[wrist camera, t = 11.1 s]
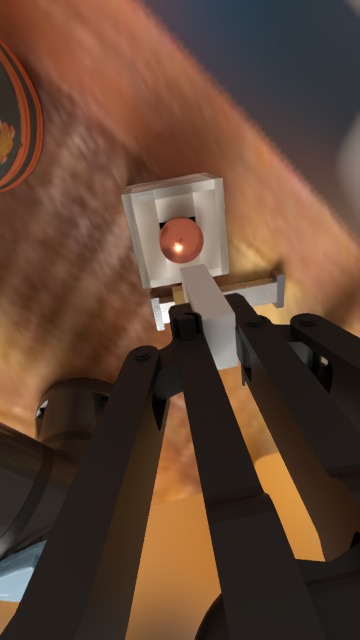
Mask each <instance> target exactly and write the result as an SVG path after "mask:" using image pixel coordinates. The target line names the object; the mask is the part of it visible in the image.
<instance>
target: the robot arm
mask: <svg viewBox="0 0 360 640" xmlns="http://www.w3.org/2000/svg"><path fill="white" fill-rule="evenodd" d="M180 274H181V280H182V286H183V292H184V299H185V303H184V304H179V305H173V306H171V307H170V309H169V310H168V314H169V319H170V326H171V331H172V336H173V339H172V341H171V343H170V344H169V345H167V346H166V347H164V348H162V349H160V350H158V349H157V348H156V347H154V346H148V345H145V346H140V347H137V348H135V349H133V350H132V351H131V352H129V354H128V355H127V357H126V359H125V362H124V364H123V366H122V368H121V371H120V373H119V375H118V378H117V380H116V382H115V385H114V386H113V385H111V384H109V383H106V382H103V381H100V380H95V379H83V378H82V379H72V380H67V381H64V382H61V383H59V384H57V385H55V386H53V387H52V388H50V389H49V390H48V391H47V392H46V393H45V394H44V396H43V397H42V399H41V401H40V403H39V406H38V408H37V411H36V415H35V439H33V438H31V437H29V436H27V435H25V434H23V433H21V432H19V431H17V430H15V429H13V428H11V427H9V426H7V425H5V424H3V423H1V422H0V600H3V601H14V602H20V603H19V606H18V608H17V610H16V613H15V615H14V616H13V617H12V619H11V620H10V622H9V623H8V625H7V626H6V628H5V629H4V631H3V632H2V634H1V635H0V640H125V636H126V632H127V627H128V622H129V617H130V611H131V606H132V601H133V596H134V590H135V585H136V579H137V574H138V569H139V564H140V558H141V553H142V547H143V542H144V537H145V531H146V526H147V521H148V516H149V511H150V505H151V500H152V495H153V489H154V484H155V479H156V474H157V468H158V463H159V458H160V452H161V447H162V442H163V436H164V431H165V426H166V420H167V415H168V410H169V405H170V397H172V396H174V395H176V394H178V393H180V392H182V391H183V393H184V398H185V404H186V409H187V414H188V419H189V425H190V430H191V435H192V440H193V445H194V451H195V456H196V461H197V466H198V472H199V477H200V482H201V487H202V492H203V497H204V502H205V509H206V514H207V519H208V524H209V530H210V535H211V540H212V545H213V551H214V556H215V561H216V566H217V571H218V577H219V582H220V587H221V592H222V593H221V594H220V595H219V596H218V597H217V598H216V600H215V601H214V602H213V603H212V605H211V607H210V608H209V610H208V611H207V613H206V614H205V616H204V618H203V620H202V622H201V624H200V626H199V629H198V631H197V634H196V636H195V640H360V338H359V337H357V336H355V335H353V334H352V333H350V332H348V331H346V330H344V329H342V328H341V327H339V326H337V325H335V324H333V323H331V322H330V321H328V320H326V319H324V318H322V317H320V316H318V315H315V314H310V313H306V314H305V313H303V314H298V315H295V316H293V317H292V318H291V320H290V325H277V324H273V323H272V322H271V321H270V320H269V319H268V318H267V317H265V316H262V315H258V314H257V313H256V312H255V311H254V309H253V308H252V307H251V305H250V304H249V303H248V301H247V300H246V299H245V297H244V296H243V295H240V294H238V293H232V294H227V295H223V294H222V292H221V290H220V289H219V287H218V286H217V284H216V282H215V281H214V279H213V277H212V276H211V274H210V273H209V271H208V269H207V268H206V266H205V265H204V264H199V265H194V266H188V267H183V268H180ZM322 357H323V358H325V359H326V360H327V361H328V364H327V365H326V364H324V363H323V362H321V360H322ZM238 358H239V360H240V362H241V372H242V385H243V386H245V381H246V383H247V385H248V387H249V389H250V391H251V393H252V395H253V397H254V400H255V402H256V404H257V406H258V408H259V410H260V412H261V414H262V416H263V419H264V421H265V423H266V425H267V427H268V429H269V431H270V433H271V435H272V438H273V440H274V442H275V444H276V446H277V448H278V450H279V452H280V454H281V457H282V459H283V461H284V463H285V465H286V467H287V469H288V471H289V473H290V476H291V478H292V480H293V482H294V484H295V486H296V488H297V490H298V492H299V494H300V497H301V499H302V501H303V503H304V505H305V507H306V509H307V511H308V513H309V516H310V518H311V520H312V522H313V524H314V526H315V528H316V530H317V533H318V535H319V539H320V542H321V547H322V552H323V555H324V558H325V562H322V561H311V560H301V559H295V557H294V554H293V552H292V549H291V547H290V544H289V542H288V539H287V537H286V534H285V531H284V529H283V526H282V524H281V521H280V519H279V516H278V514H277V511H276V509H275V506H274V504H273V502H272V500H271V498H270V496H269V495H268V494H267V493H265V492H264V491H263V489H262V486H261V484H260V481H259V479H258V476H257V473H256V471H255V468H254V465H253V463H252V460H251V457H250V455H249V452H248V449H247V447H246V444H245V441H244V439H243V436H242V433H241V431H240V428H239V425H238V423H237V420H236V417H235V415H234V412H233V409H232V407H231V404H230V401H229V399H228V396H227V393H226V391H225V388H224V385H223V383H222V380H221V377H220V375H219V372H218V370H221V369H226V368H230V367H235V366H238Z"/></svg>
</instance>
